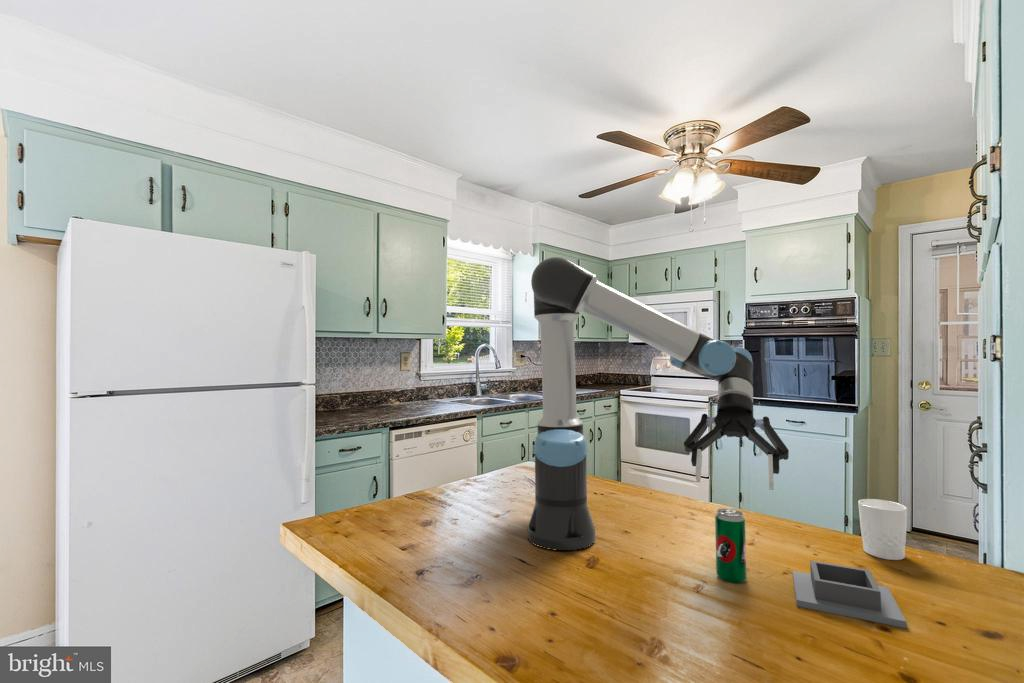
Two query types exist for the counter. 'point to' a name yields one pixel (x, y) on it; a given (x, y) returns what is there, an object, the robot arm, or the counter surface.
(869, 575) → the mount
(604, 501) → the counter surface
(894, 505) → the white cup
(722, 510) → the soda can
